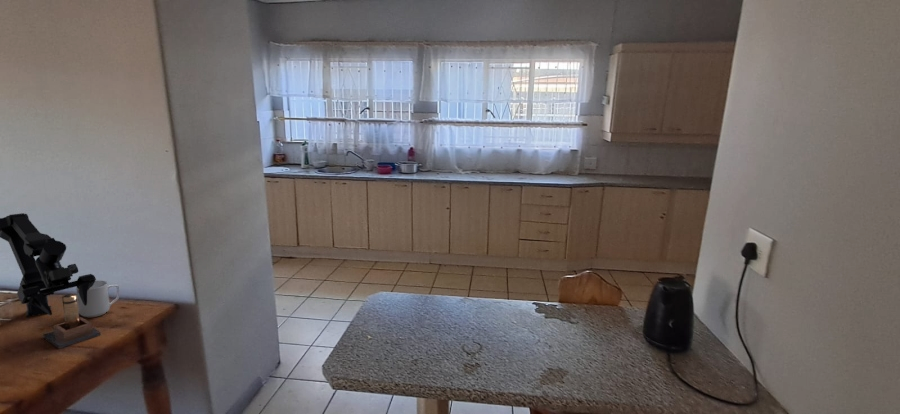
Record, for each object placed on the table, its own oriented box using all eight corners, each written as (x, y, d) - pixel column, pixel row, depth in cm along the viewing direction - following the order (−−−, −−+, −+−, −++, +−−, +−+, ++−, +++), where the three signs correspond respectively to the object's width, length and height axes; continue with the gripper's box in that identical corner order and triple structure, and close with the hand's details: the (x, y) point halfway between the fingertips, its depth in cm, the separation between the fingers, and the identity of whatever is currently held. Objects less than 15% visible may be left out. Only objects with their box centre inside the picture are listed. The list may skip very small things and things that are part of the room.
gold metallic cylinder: (68, 331, 144) (63, 295, 142) (81, 329, 146) (77, 293, 144) (65, 336, 141) (60, 299, 139) (79, 334, 143) (75, 297, 141)
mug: (80, 320, 154) (76, 291, 152) (78, 311, 160) (75, 283, 158) (121, 312, 162) (119, 284, 160) (119, 304, 168) (116, 277, 166)
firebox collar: (43, 337, 142) (41, 326, 141) (84, 324, 151) (83, 314, 150) (59, 348, 136) (57, 337, 135) (100, 334, 145) (99, 324, 145)
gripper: (18, 265, 134) (36, 308, 131) (90, 251, 150) (109, 289, 147) (12, 282, 140) (29, 324, 137) (82, 267, 156) (100, 304, 153)
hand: (69, 309), depth 143 cm, fingers open, 9 cm apart
